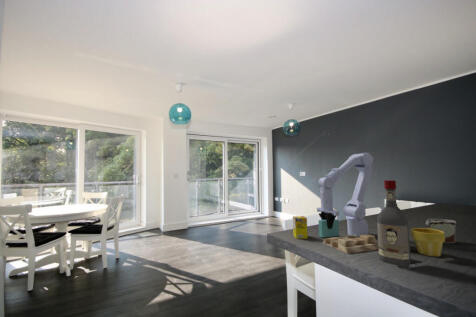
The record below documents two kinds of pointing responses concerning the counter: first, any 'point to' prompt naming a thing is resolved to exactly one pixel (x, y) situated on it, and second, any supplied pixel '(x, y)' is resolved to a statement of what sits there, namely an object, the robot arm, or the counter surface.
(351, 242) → the offcut
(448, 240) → the food container
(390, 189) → the liquor
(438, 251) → the plant pot
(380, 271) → the counter surface
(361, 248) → the rack
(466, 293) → the counter surface
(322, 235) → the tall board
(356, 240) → the offcut
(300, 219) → the supplement box
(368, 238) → the offcut
